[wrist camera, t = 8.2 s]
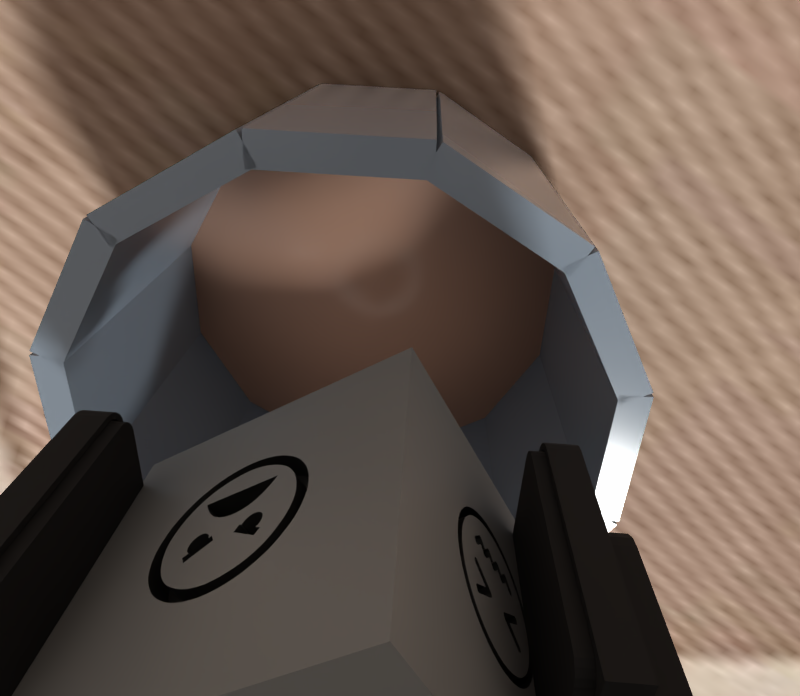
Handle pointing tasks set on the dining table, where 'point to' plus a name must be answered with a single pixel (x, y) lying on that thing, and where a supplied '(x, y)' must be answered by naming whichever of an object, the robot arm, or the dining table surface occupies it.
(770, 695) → the dining table surface
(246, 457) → the dice cube
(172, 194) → the cup
